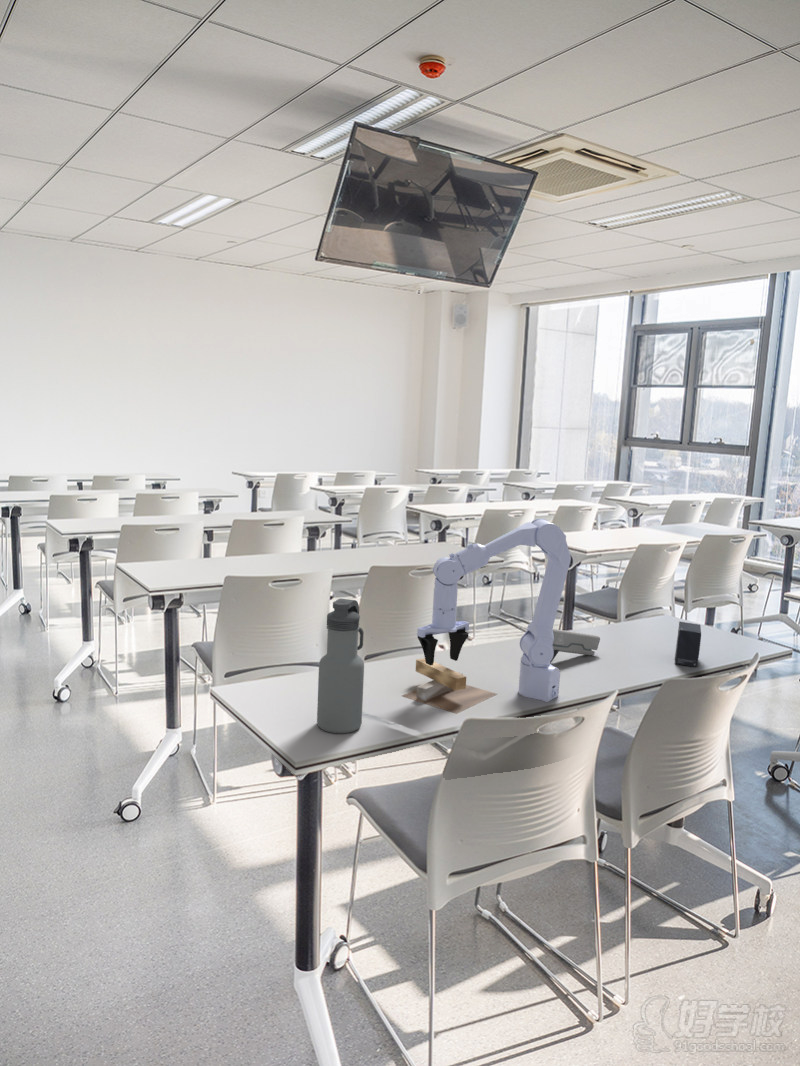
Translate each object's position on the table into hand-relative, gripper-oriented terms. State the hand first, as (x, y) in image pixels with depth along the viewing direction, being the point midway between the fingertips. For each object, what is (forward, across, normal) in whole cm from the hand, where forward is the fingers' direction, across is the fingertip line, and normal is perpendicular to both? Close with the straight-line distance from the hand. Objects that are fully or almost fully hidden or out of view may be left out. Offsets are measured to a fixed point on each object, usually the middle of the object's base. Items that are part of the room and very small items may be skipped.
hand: (441, 661), depth 198 cm
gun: (+9, +52, +6) cm, 53 cm away
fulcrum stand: (+9, +1, -3) cm, 9 cm away
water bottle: (+9, -31, -4) cm, 33 cm away
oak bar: (+5, 0, 0) cm, 5 cm away
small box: (+9, +83, -12) cm, 84 cm away
